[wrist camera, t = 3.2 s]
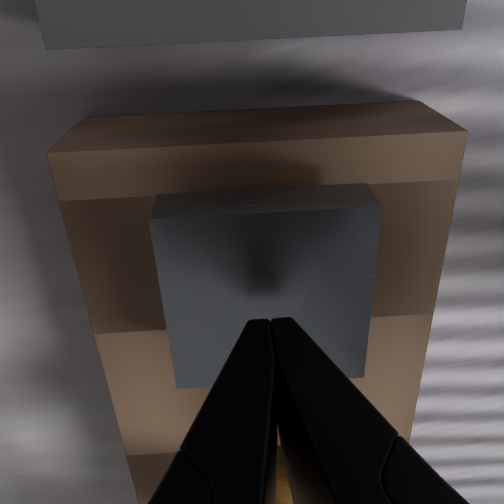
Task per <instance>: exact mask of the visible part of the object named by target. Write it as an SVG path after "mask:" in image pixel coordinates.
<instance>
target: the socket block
mask: <svg viewBox="0 0 504 504" xmlns="http://www.w3.org/2000/svg"><path fill="white" fill-rule="evenodd" d="M467 133H468V131H467V130H466V129H464V128H462V127H461V126H459V125H457V124H456V123H454V122H453V121H451V120H449V119H448V118H446V117H444V116H443V115H441V114H440V113H438V112H436V111H435V110H433V109H432V108H430V107H428V106H427V105H425V104H423V103H422V102H420V101H401V102H382V103H362V104H343V105H323V106H304V107H284V108H265V109H245V110H225V111H206V112H186V113H167V114H147V115H128V116H108V117H89V118H83V119H82V120H81V121H80V122H79V123H78V124H77V125H76V126H74V127H73V128H72V129H71V130H70V131H69V132H68V133H67V134H66V135H65V136H64V137H63V138H62V139H61V140H60V141H59V142H58V143H56V144H55V145H54V146H53V147H52V148H51V149H50V150H49V151H48V152H47V153H46V154H47V158H48V162H49V166H50V169H51V173H52V177H53V181H54V184H55V188H56V192H57V196H58V200H59V203H60V207H61V211H62V215H63V218H64V222H65V226H66V230H67V234H68V237H69V241H70V245H71V249H72V252H73V256H74V260H75V264H76V268H77V271H78V275H79V279H80V283H81V286H82V290H83V294H84V298H85V302H86V305H87V309H88V313H89V317H90V320H91V324H92V328H93V332H94V336H95V339H96V343H97V347H98V351H99V354H100V358H101V362H102V366H103V370H104V373H105V377H106V381H107V385H108V388H109V392H110V396H111V400H112V403H113V407H114V411H115V415H116V419H117V422H118V426H119V430H120V434H121V437H122V441H123V445H124V449H125V453H126V456H127V460H128V464H129V468H130V471H131V475H132V479H133V483H134V487H135V490H136V494H137V498H138V502H139V504H147V503H148V501H149V500H150V498H151V496H152V495H153V493H154V491H155V490H156V488H157V486H158V484H159V483H160V481H161V479H162V478H163V476H164V474H165V473H166V471H167V469H168V467H169V465H170V463H171V462H172V460H173V458H174V456H175V454H176V452H177V451H179V447H180V445H181V443H182V442H183V440H184V438H185V436H186V434H187V432H188V430H189V429H190V427H191V425H192V423H193V421H194V419H195V417H196V416H197V414H198V412H199V410H200V408H201V406H202V404H203V403H204V401H205V399H206V397H207V395H208V393H209V391H210V390H211V388H212V387H205V388H189V389H176V383H175V376H174V370H173V364H172V358H171V352H170V346H169V340H168V334H167V328H166V322H165V316H164V310H163V304H162V298H161V292H160V286H159V280H158V274H157V268H156V262H155V255H154V249H153V243H152V237H151V231H150V225H149V216H150V213H151V210H152V207H153V204H154V201H155V198H156V195H157V194H169V193H188V192H206V191H224V190H243V189H261V188H279V187H298V186H316V185H334V184H353V183H367V185H368V186H369V187H370V189H371V190H372V192H373V193H374V195H375V196H376V198H377V199H378V200H379V202H380V203H381V205H382V215H381V225H380V234H379V243H378V253H377V262H376V271H375V281H374V290H373V299H372V309H371V318H370V327H369V337H368V346H367V355H366V365H365V374H364V378H349V379H350V380H351V382H352V383H353V384H354V385H355V386H356V387H357V388H358V389H359V390H360V391H361V392H362V393H363V395H364V396H365V397H366V398H367V399H368V400H369V401H370V402H371V403H372V404H373V405H374V407H375V408H376V409H377V410H378V411H379V412H380V413H381V414H382V415H383V416H384V417H385V418H386V420H387V421H388V422H389V423H390V424H391V425H392V426H393V427H394V428H395V429H396V430H397V431H398V433H399V436H402V437H403V438H404V439H405V440H406V441H407V442H408V443H409V439H410V434H411V429H412V423H413V418H414V413H415V408H416V402H417V397H418V392H419V387H420V381H421V376H422V371H423V365H424V360H425V355H426V350H427V344H428V339H429V334H430V329H431V323H432V318H433V313H434V307H435V302H436V297H437V292H438V286H439V281H440V276H441V270H442V265H443V260H444V255H445V249H446V244H447V239H448V234H449V228H450V223H451V218H452V212H453V207H454V202H455V197H456V191H457V186H458V181H459V176H460V170H461V165H462V160H463V154H464V149H465V144H466V139H467ZM278 446H280V439H279V433H278Z"/></svg>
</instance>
